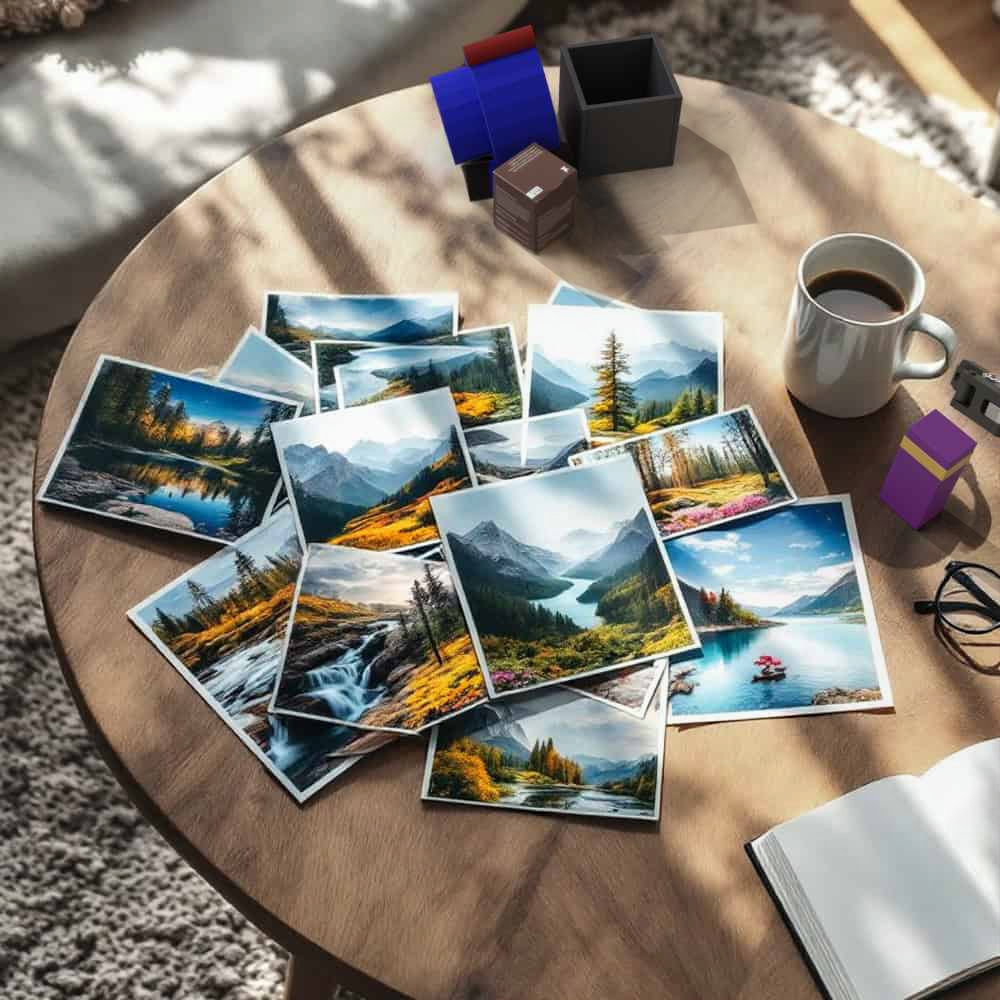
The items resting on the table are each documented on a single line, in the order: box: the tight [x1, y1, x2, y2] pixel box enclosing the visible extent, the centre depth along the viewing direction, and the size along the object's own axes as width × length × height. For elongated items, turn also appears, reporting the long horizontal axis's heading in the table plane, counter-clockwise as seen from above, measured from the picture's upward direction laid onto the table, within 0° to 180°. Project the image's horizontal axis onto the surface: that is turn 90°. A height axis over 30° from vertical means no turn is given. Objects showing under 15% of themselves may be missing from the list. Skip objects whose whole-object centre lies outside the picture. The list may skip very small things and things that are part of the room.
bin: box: [557, 33, 684, 179], centre depth 129 cm, size 10×10×9 cm
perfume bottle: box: [877, 408, 978, 531], centre depth 103 cm, size 3×4×10 cm
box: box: [492, 142, 578, 255], centre depth 123 cm, size 6×6×7 cm
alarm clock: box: [429, 24, 561, 202], centre depth 125 cm, size 12×12×15 cm
